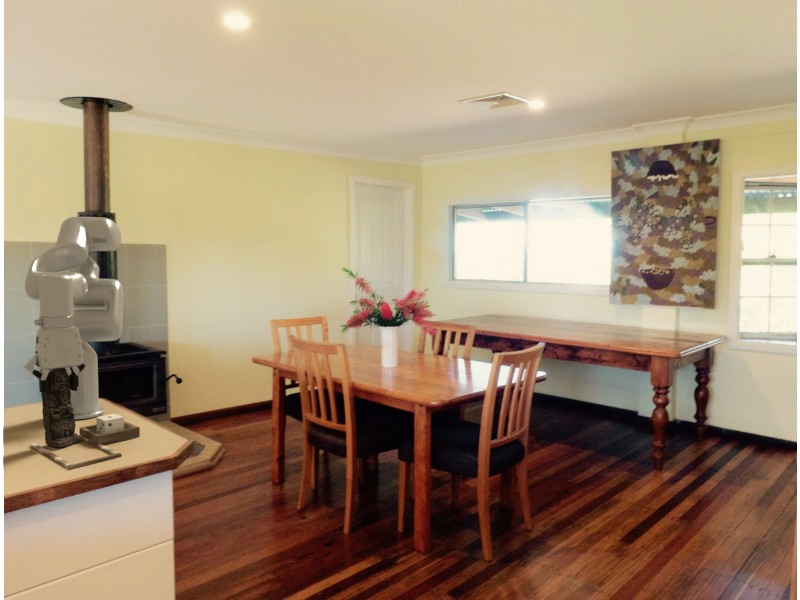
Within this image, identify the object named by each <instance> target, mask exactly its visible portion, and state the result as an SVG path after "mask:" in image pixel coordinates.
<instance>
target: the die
mask: <svg viewBox="0 0 800 600" xmlns="http://www.w3.org/2000/svg"><path fill="white" fill-rule="evenodd" d="M95 418H96V419H95V421H96V423H95V424H97V434H99V435H102V434H107V433H111V432H116V431H120V430H124V421H125V417H124V416H122V415H120V414H118V413H111V414H104V415H99V416H96V417H95Z"/></svg>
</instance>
